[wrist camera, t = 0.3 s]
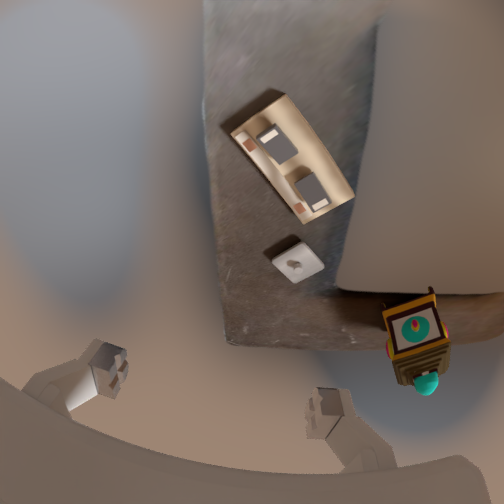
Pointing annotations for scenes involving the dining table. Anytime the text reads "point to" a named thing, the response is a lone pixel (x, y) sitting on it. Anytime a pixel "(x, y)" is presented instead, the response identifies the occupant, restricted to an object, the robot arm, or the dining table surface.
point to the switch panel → (298, 166)
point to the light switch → (298, 262)
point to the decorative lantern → (417, 342)
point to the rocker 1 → (277, 144)
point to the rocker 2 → (313, 192)
